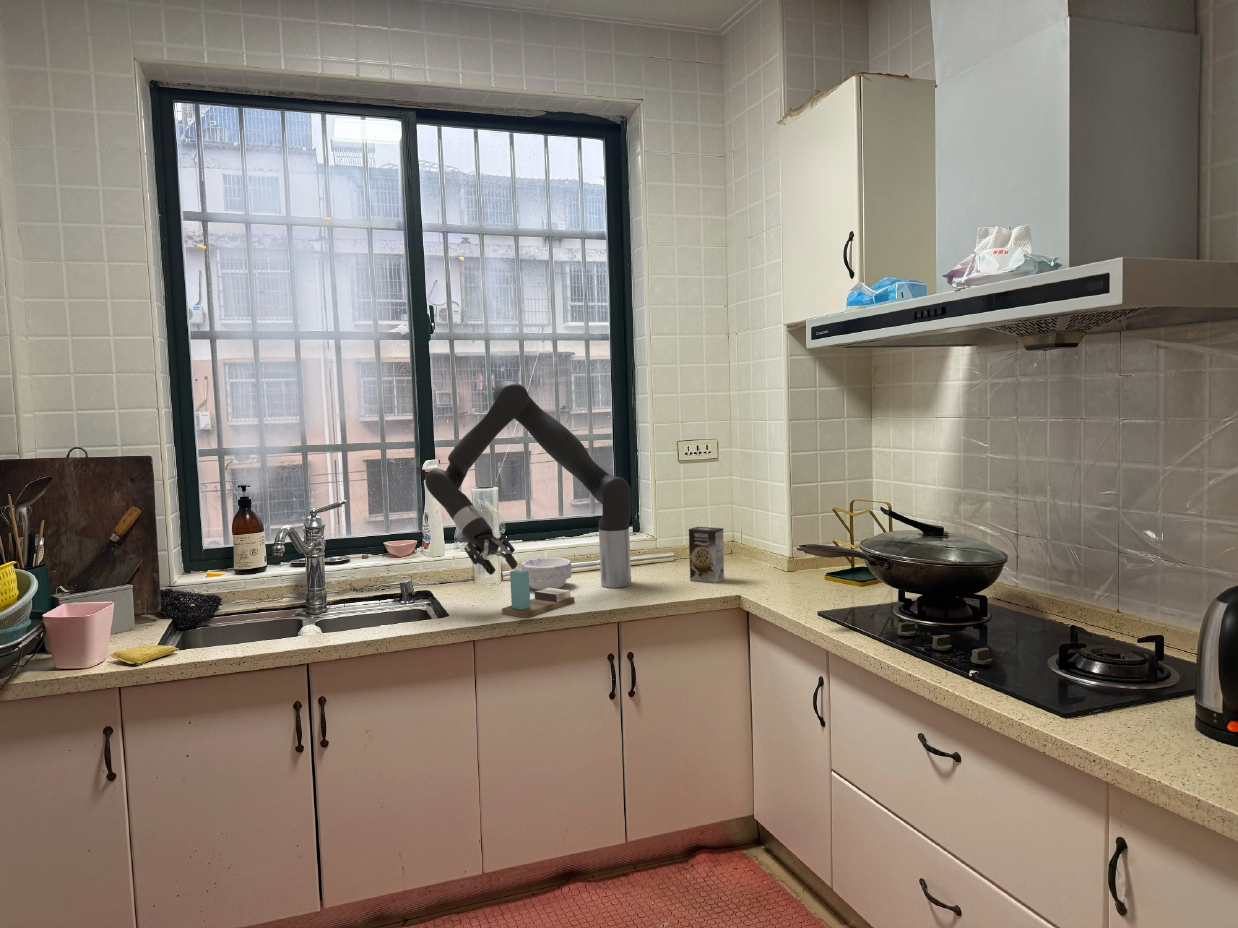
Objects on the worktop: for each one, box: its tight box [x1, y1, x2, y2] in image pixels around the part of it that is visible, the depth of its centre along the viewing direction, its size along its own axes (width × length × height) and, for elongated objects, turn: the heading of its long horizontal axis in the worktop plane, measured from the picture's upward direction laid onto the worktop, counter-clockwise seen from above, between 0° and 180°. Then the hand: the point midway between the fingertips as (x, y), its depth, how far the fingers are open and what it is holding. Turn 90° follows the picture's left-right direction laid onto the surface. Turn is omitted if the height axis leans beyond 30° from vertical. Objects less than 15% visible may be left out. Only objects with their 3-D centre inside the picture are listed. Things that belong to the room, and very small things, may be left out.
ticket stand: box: [501, 588, 575, 619], centre depth 235 cm, size 20×9×4 cm, turn 143°
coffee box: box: [688, 526, 725, 584], centre depth 261 cm, size 9×6×16 cm
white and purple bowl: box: [521, 557, 573, 591], centre depth 261 cm, size 15×15×8 cm
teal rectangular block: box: [509, 568, 531, 610], centre depth 229 cm, size 3×4×10 cm
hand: (504, 569), depth 231 cm, fingers open, 8 cm apart
